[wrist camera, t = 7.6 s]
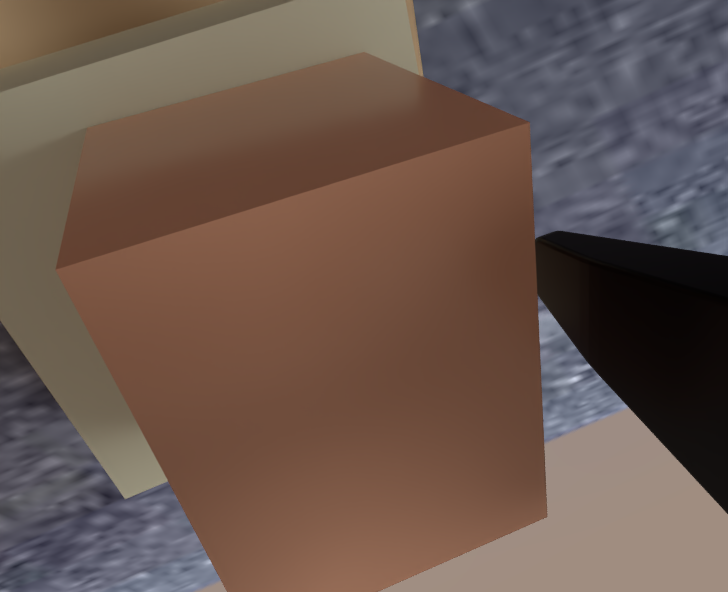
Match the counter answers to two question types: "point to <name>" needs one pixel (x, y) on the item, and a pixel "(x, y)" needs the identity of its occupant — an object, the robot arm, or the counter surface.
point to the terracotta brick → (321, 318)
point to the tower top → (119, 100)
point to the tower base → (92, 23)
